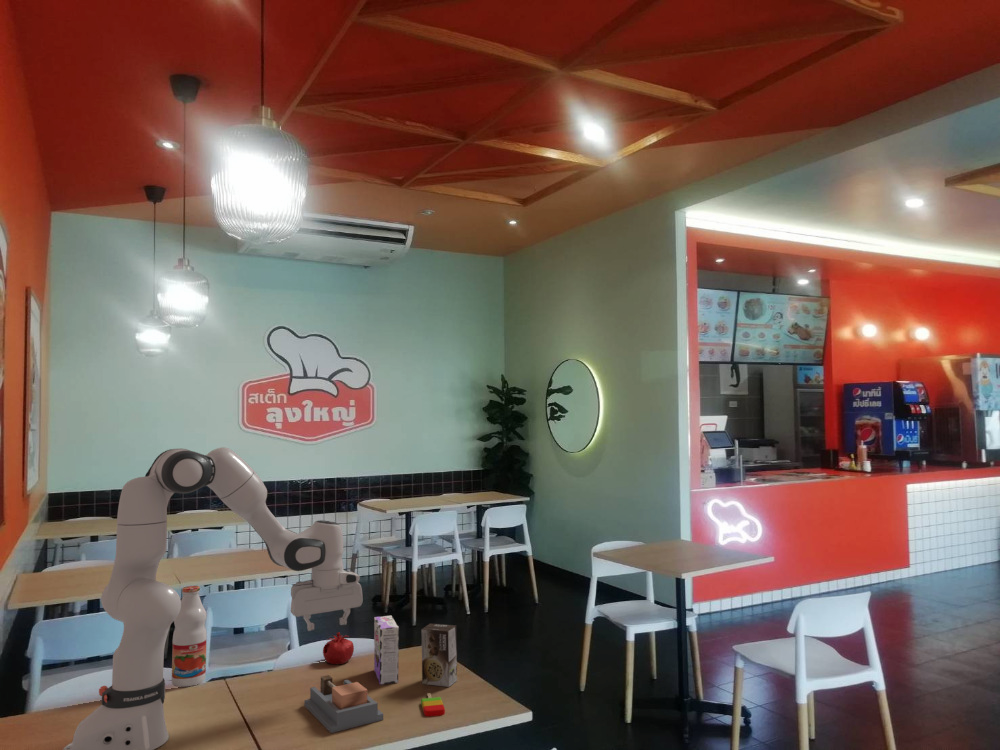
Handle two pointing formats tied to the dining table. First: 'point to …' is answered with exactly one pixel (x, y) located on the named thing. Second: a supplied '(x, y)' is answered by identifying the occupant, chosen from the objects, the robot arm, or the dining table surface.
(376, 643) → the candy box
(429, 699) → the popsicle
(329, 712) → the shelf lane
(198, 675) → the fruit juice
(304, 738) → the dining table surface
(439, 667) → the coffee box
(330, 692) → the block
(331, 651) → the pomegranate
